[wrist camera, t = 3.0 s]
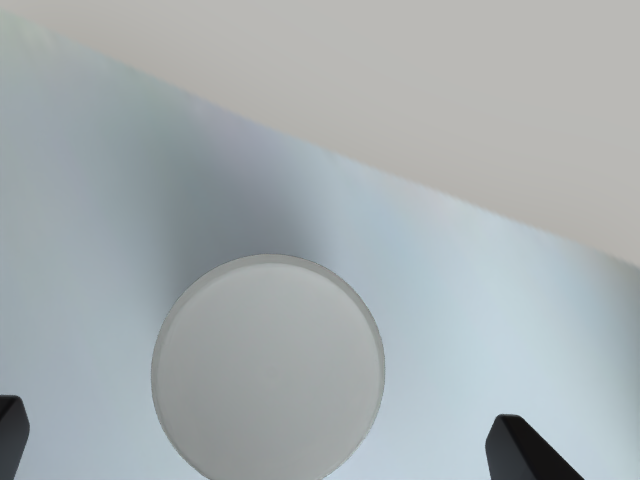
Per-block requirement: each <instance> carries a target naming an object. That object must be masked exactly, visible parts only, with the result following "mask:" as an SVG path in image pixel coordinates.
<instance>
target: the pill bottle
mask: <svg viewBox="0 0 640 480" xmlns="http://www.w3.org/2000/svg"><path fill="white" fill-rule="evenodd" d="M384 383H385V356H384V350H383V344H382V340H381V337H380V333H379V330H378V328H377V325H376V323H375V320H374V318H373V316H372V315H371V313H370V311H369V309H368V308H367V306H366V304H365V303H364V302H363V300H362V299H361V298H360V296H359V295H358V294H357V293H356V292H355V290H354V289H353V288H352V287H351V286H350V285H349V284H347V283H346V282H345V281H344V280H343V279H341V278H340V277H339V276H338V275H336V274H335V273H333V272H332V271H330V270H328V269H327V268H325V267H323V266H321V265H319V264H317V263H314V262H312V261H309V260H306V259H302V258H298V257H294V256H288V255H281V254H259V255H252V256H246V257H242V258H238V259H235V260H232V261H229V262H227V263H224V264H222V265H220V266H218V267H216V268H214V269H212V270H211V271H209V272H207V273H206V274H205V275H203V276H202V277H200V278H199V279H198V280H196V281H195V282H194V283H193V284H192V285H191V286H190V287H189V288H188V289H187V290H186V291H185V292H184V293H183V294H182V295H181V296H180V297H179V298H178V300H177V301H176V302H175V304H174V305H173V307H172V308H171V310H170V311H169V313H168V315H167V317H166V318H165V320H164V322H163V324H162V326H161V329H160V331H159V334H158V337H157V340H156V343H155V347H154V352H153V358H152V366H151V387H152V397H153V402H154V406H155V410H156V414H157V416H158V419H159V422H160V424H161V426H162V429H163V431H164V432H165V434H166V436H167V438H168V439H169V441H170V443H171V444H172V446H173V447H174V448H175V450H176V451H177V452H178V453H179V455H180V456H181V457H182V458H183V459H184V460H185V461H186V462H187V463H188V464H189V465H190V466H192V467H193V468H194V469H195V470H197V471H198V472H199V473H200V474H201V475H203V476H205V477H206V478H208V479H210V480H321V479H323V478H324V477H326V476H327V475H329V474H331V473H332V472H333V471H335V470H336V469H337V468H338V467H340V466H341V465H342V464H343V463H344V462H345V461H346V460H348V459H349V458H350V457H351V456H352V454H353V453H354V452H355V451H356V450H357V449H358V447H359V446H360V444H361V443H362V442H363V440H364V439H365V437H366V436H367V434H368V432H369V431H370V429H371V427H372V425H373V423H374V421H375V418H376V416H377V413H378V410H379V407H380V404H381V400H382V395H383V390H384Z"/></svg>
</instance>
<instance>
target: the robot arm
mask: <svg viewBox="0 0 640 480" xmlns="http://www.w3.org/2000/svg"><path fill="white" fill-rule="evenodd" d="M29 431H30V425H29V421H28V417H27V414H26V411H25V408H24V404H23V401H22V399H21V398H20V397H19V396H16V395H0V480H14V477H15V474H16V471H17V468H18V465H19V463H20V460H21V457H22V454H23V451H24V448H25V445H26V443H27V440H28V436H29ZM485 449H486V456H487V461H488V466H489V471H490V476H491V480H584V479H583V478H582V477H581V476H580V475H579V474H578V473H577V472H576V471H575V470H574V469H573V468H572V467H571V466H570V465H569V464H568V463H567V462H566V461H565V460H564V459H563V458H562V457H561V456H560V455H559V454H558V453H557V452H556V451H555V450H554V449H553V448H552V447H551V446H550V445H549V444H548V443H547V442H546V441H545V440H544V439H543V438H542V437H541V436H540V435H539V434H538V433H537V432H536V431H535V430H534V429H533V428H532V427H531V426H530V425H529V424H528V423H527V422H526V421H525V420H524V419H523V418H522V417H520V416H518V415H513V414H500V415H498V416H497V417H496V419H495V421H494V423H493V425H492V428H491V430H490V432H489V434H488V436H487V439H486V444H485Z"/></svg>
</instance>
